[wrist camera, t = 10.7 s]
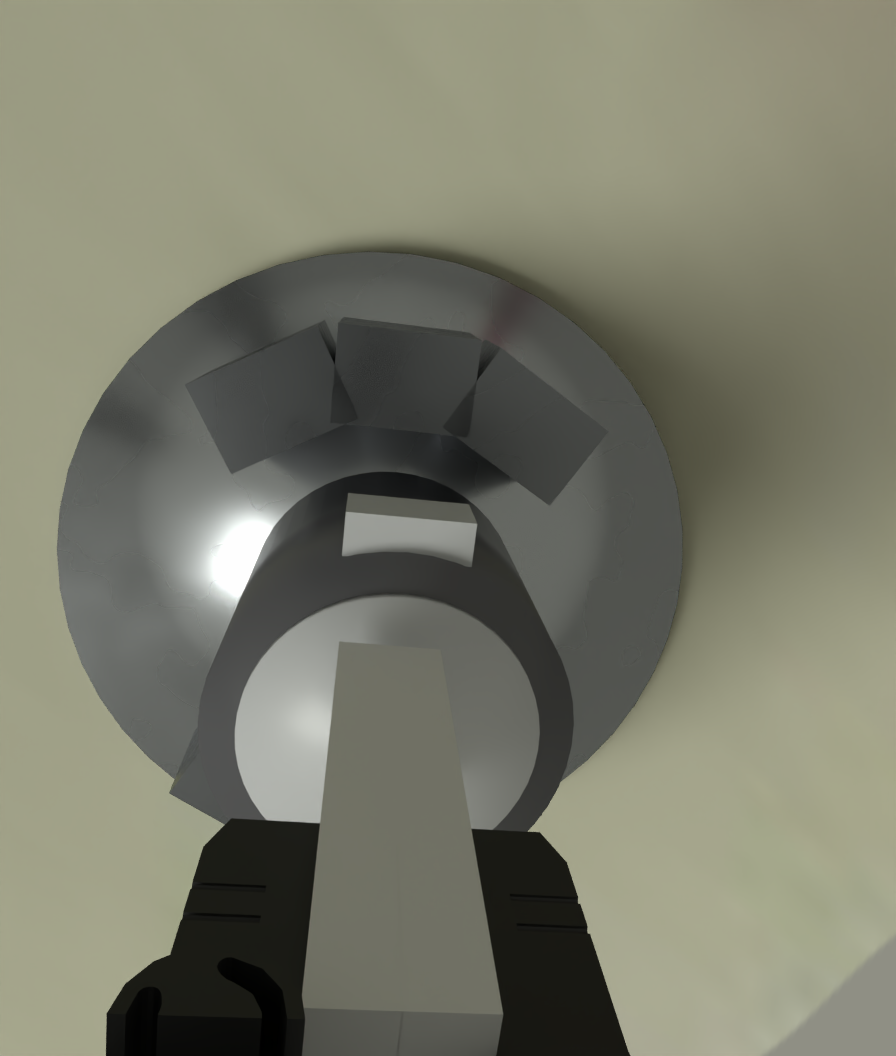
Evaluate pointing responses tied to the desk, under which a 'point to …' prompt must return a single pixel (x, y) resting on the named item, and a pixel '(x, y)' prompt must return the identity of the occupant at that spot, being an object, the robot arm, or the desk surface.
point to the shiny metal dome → (353, 448)
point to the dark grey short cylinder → (385, 619)
